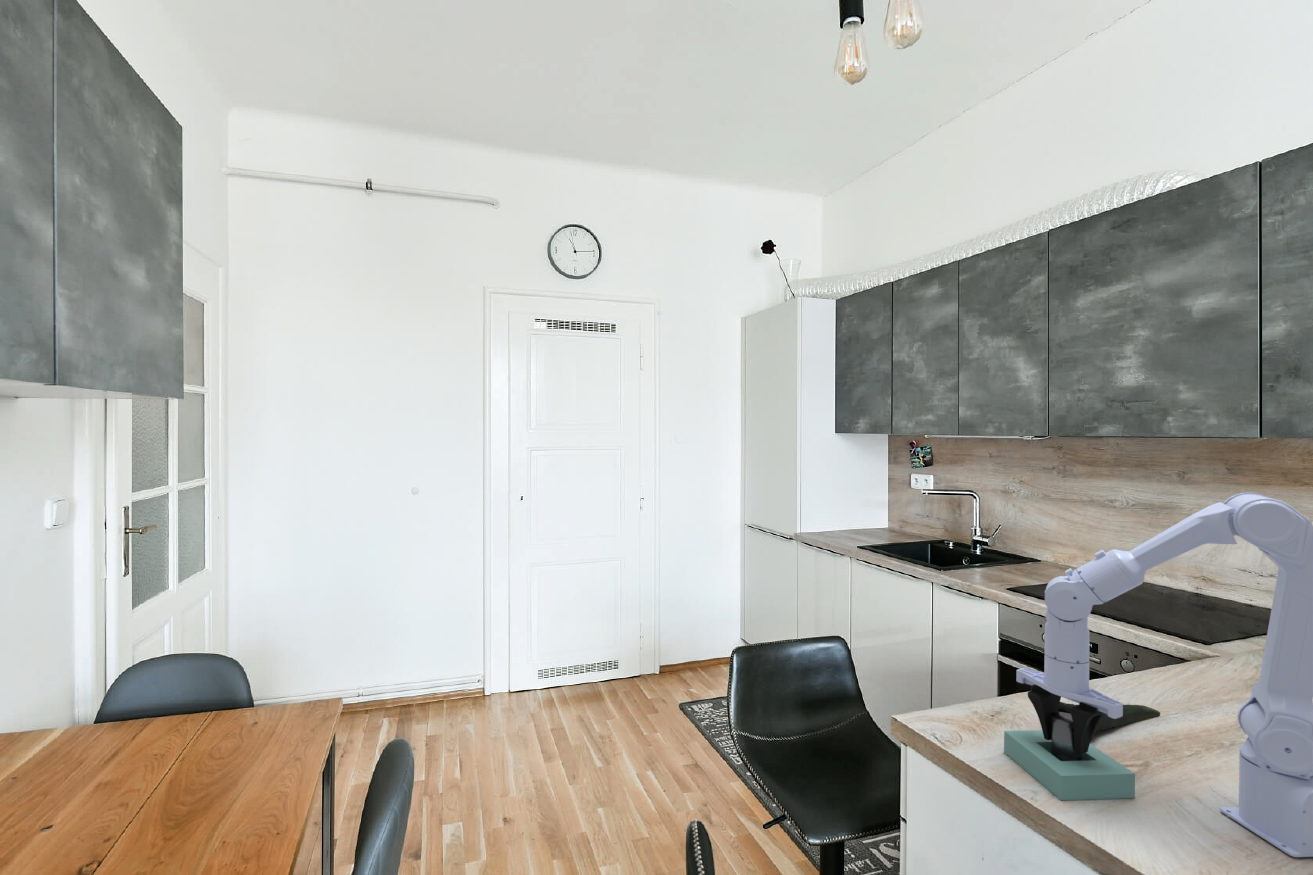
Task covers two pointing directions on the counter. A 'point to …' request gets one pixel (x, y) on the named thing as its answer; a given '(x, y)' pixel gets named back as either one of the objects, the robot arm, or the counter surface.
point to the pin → (1063, 737)
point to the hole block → (1069, 769)
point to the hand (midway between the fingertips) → (1065, 745)
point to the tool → (1129, 716)
